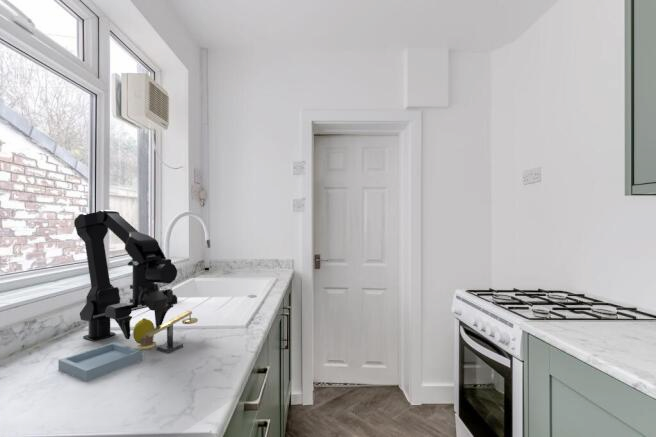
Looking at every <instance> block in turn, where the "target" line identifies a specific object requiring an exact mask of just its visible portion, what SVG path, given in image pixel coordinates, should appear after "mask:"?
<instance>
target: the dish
mask: <svg viewBox="0 0 656 437" xmlns="http://www.w3.org/2000/svg"><path fill="white" fill-rule="evenodd" d="M142 360H143V350H140V349H138V348H135V347H131V346H128V345H124V344H122V343H118V342H115V341H114V342H111V343H107V344H104V345H101V346H98V347H94V348H92V349H91V348H90V349H89V350H85V351H82V352H79V353H78V352H77V353H75V354H72V355H69V356H66V357H62V358H59V359H58V363H57V364H58V371H61V372H62V373H65V374H68V375H69V376H72V377H73V378H76V379H78V380H81V381H82V382H83V381H84V382H85V383H88V382H89V381H90V382H91V381H92V380H95V379H97V378H100V377H103V376H105V375H108V374H110V373H113V372H115V371H118V370H121V369H123V368H126V367H129V366H131V365H134V364H136V363H138V362H141V361H142Z"/></svg>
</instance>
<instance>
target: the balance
mask: <svg viewBox="0 0 656 437" xmlns="http://www.w3.org/2000/svg"><path fill="white" fill-rule="evenodd" d="M192 314H193V311H191V310H187V311H185V312H183V313H181V314H179V315H177V316H175V317H174V318H172V319H170V320H169V321H166V322H164V323H162V325H160V326H159V327H157V328H156V327H154V329H153V330H151V331H149V332H147V333H146V334H145V337H142V338H141V344H139V343H138V345H137V349H138V350H141V351H144V350H150V349H153V348H155V350H156V351H159V352H161V353H164V354H169V353H172V352H175V351H178V350H180V349H183V348H184V343H183V342H178V341H174V324H176V323H178V322H179V321H181V323H182V324H184V325H192V324H195V323H198V321H199V319H198V318H197V317H191V315H192ZM187 317H189V318H187ZM164 330H166V342H165V343H162V344H160V345H157V342H156V341H154V337H153V335H154V336H155V335H157V334H159V333H160V332H162V331H164Z"/></svg>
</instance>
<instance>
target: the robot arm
mask: <svg viewBox="0 0 656 437" xmlns="http://www.w3.org/2000/svg"><path fill="white" fill-rule="evenodd" d="M73 222H74V223H73V224H74V227H75V230H76V235H77V236H78V237H79V238H80V239H81V240H82V241H83V242H84V246H85V251H86V252H85V253H86V259H87V260H86V261H87V265H88V273H89V280H90V286H91V287H90V289H89V291H88V293H87V295H86V303H85V305H84V307H83V308H82V309H81V310H80V312H79V316H80V320H81V321H85V322H88V323H87V324H88V328H87V329H88V333H87V334H85V335H83V337H82V338H83V339H86V340H90V341H92V342H93V341H95V342H96V341H99V340H101V339H104V338H108V337H112V336H115V335H116V332H113V331H111V319H112V320H114V321H115V322H116V324H117V325H118V327H119V328H120V330H121V332H122V334H123V335H124V337H125V339H126V340H130V339H131V320H132V319H133V316H131V314H132V312H134V311H137V310H141V309H147V308H148V310H150V311H154V318H155V321H154V322H155V328H157V327H159V326H160V325H162V324H164V323H163V322H164V320H165V317H166V314H167V313H168V312H169V310H170V309H171V308H173V307H174V306H175V305H177V304H178V297H177V295H176V294H174V292H173V290H172V288H171V289H170V288H168V289H164V290H160V289H159V285H158V283H159V284H172V283H173V282H174V281H175V280H176V278H177V276H178V269H177V267H176V265H175V264H173V263H172V259H171V258H166V255H165V254H164V252H163V250H162V248H161V246H160V244H159V242H158V240H157V239H155V238H154V237H152V236H150V235H148V234H145V233H142V232H140V231H138V230H137V229H136V228H135V227H134V226H133V225H132V224H130V223H129V221H127V220H126V219H125V218H124V217H123V216H122V215H120V213H119V211H117V210H115V209H113V210H112V209H111V210H110V209H102V210H99V211H96V212H91V213H79V215H78V216H77V217H75V219H74V220H73ZM109 230H110V231H111V232H112V233H113V234H114V235H115V236H116V237H117V238H118V239H120V241H122V243H123V244H124V251H126V253H127V254H128V255H129V257H130V258H132V259H131V260H130V261H128V263H127V266H130V267H131V266H132V284H129V289H131V290H132V298H129V303H130V304H126V303H121V299H122V298H121V296H120V289H119V288H118V286H116V287H114V285H113V284H112V283H111V281H110V274H109V272H110V271H109V267H108V261H107V254H106V247H105V240H104V239H105V238H106V236H107V234H108V232H109Z"/></svg>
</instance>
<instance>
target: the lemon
mask: <svg viewBox="0 0 656 437" xmlns="http://www.w3.org/2000/svg"><path fill="white" fill-rule="evenodd" d="M153 329H155V325H154V323H153V321H152V320H150V319H147V318H142V319H141V320H140V319H139V321H137V322H136V323H135V325H134V327H133V331H132V336H133V340H134V341H135V342H136V343H137V344H138V345H139V344H141V338H142V337H145V334H146V333H147V332H149V331H151V330H153ZM154 337H155V335H153V338H154Z"/></svg>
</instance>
